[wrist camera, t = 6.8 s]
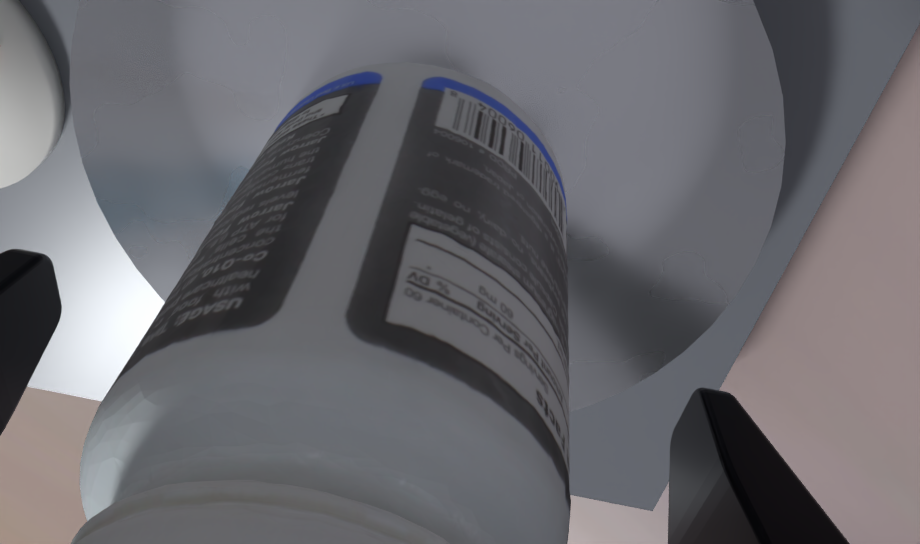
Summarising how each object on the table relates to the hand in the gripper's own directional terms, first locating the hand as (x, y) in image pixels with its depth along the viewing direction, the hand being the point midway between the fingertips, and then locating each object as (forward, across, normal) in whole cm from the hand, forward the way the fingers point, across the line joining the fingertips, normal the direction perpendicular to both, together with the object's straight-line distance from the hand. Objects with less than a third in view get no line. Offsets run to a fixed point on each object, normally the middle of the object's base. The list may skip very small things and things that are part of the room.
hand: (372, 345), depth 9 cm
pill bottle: (+4, 0, 0) cm, 4 cm away
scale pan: (+4, 0, 0) cm, 4 cm away
